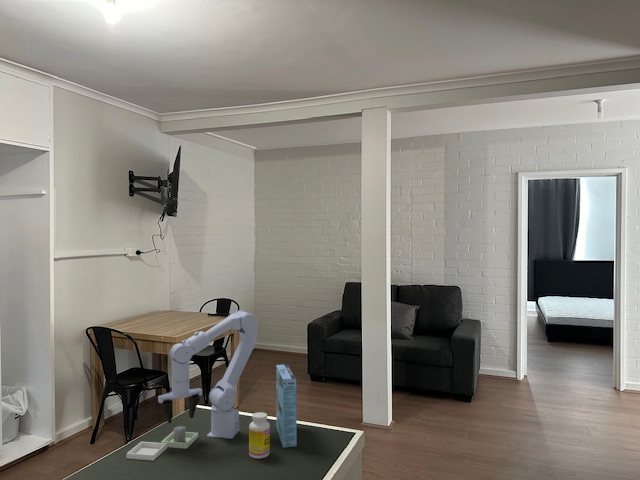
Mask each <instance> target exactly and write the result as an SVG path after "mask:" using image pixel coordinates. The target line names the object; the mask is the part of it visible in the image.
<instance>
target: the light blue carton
mask: <svg viewBox="0 0 640 480" xmlns="http://www.w3.org/2000/svg"><path fill="white" fill-rule="evenodd" d="M275 367H276V368H275V369H276V370H275V372H276V377H275V378H276V382H275V383H276V384H275V385H276V389H275V390H276V393H275V394H276V397H275V398H276V430H277V433H278V436H279V439H280V443H281V446H282V448H292V447H297V431H298V430H297V429H298V428H297V378H296V376H295V375H294V372H293V371H292V369H291V368H290V365H289V364H277V365H275Z"/></svg>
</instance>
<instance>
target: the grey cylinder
mask: <svg viewBox="0 0 640 480" xmlns="http://www.w3.org/2000/svg"><path fill="white" fill-rule="evenodd" d="M173 431H174V442H182V443H185V442H186V432H187V427H186V426H185V425H184V426H183V425H179V426H176V427H174V428H173Z"/></svg>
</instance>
